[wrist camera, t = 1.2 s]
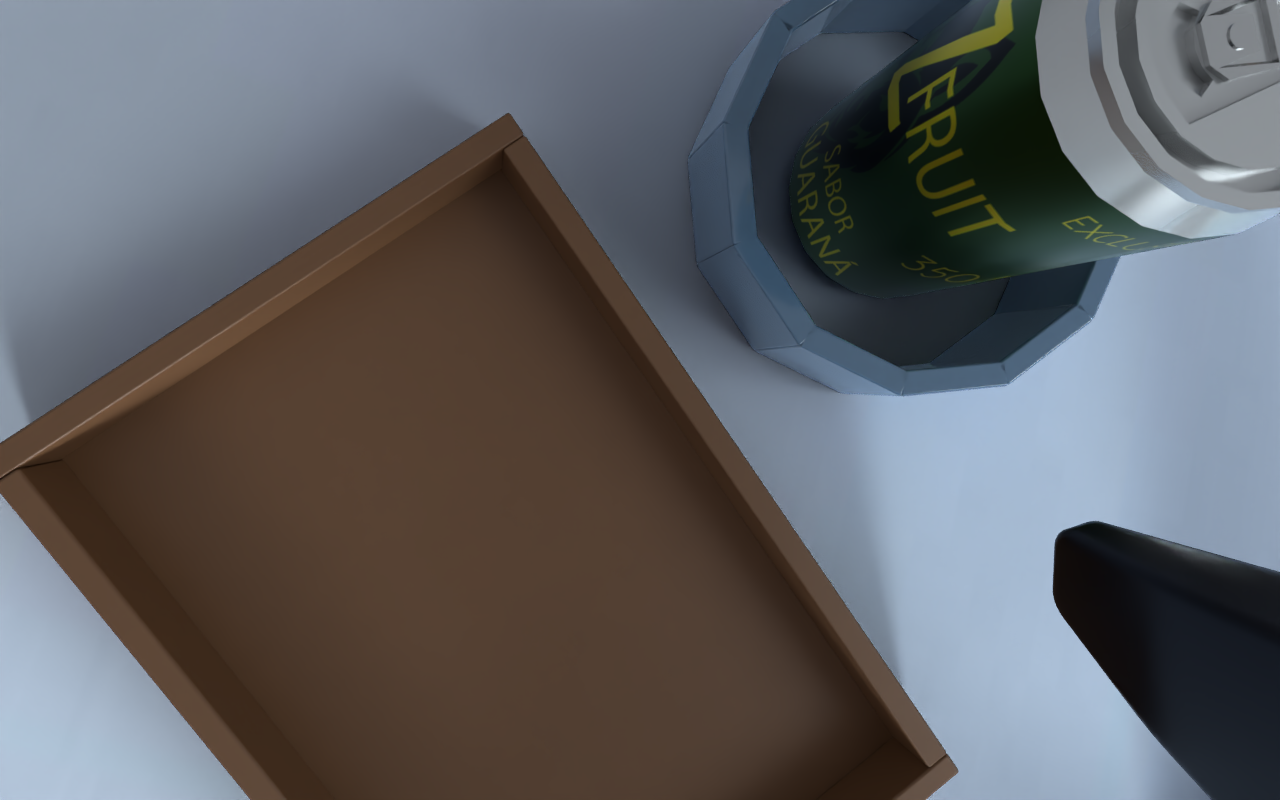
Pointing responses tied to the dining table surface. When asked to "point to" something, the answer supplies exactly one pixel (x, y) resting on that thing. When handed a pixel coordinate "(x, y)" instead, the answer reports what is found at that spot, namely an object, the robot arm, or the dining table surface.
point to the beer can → (1045, 142)
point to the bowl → (761, 296)
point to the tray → (459, 529)
